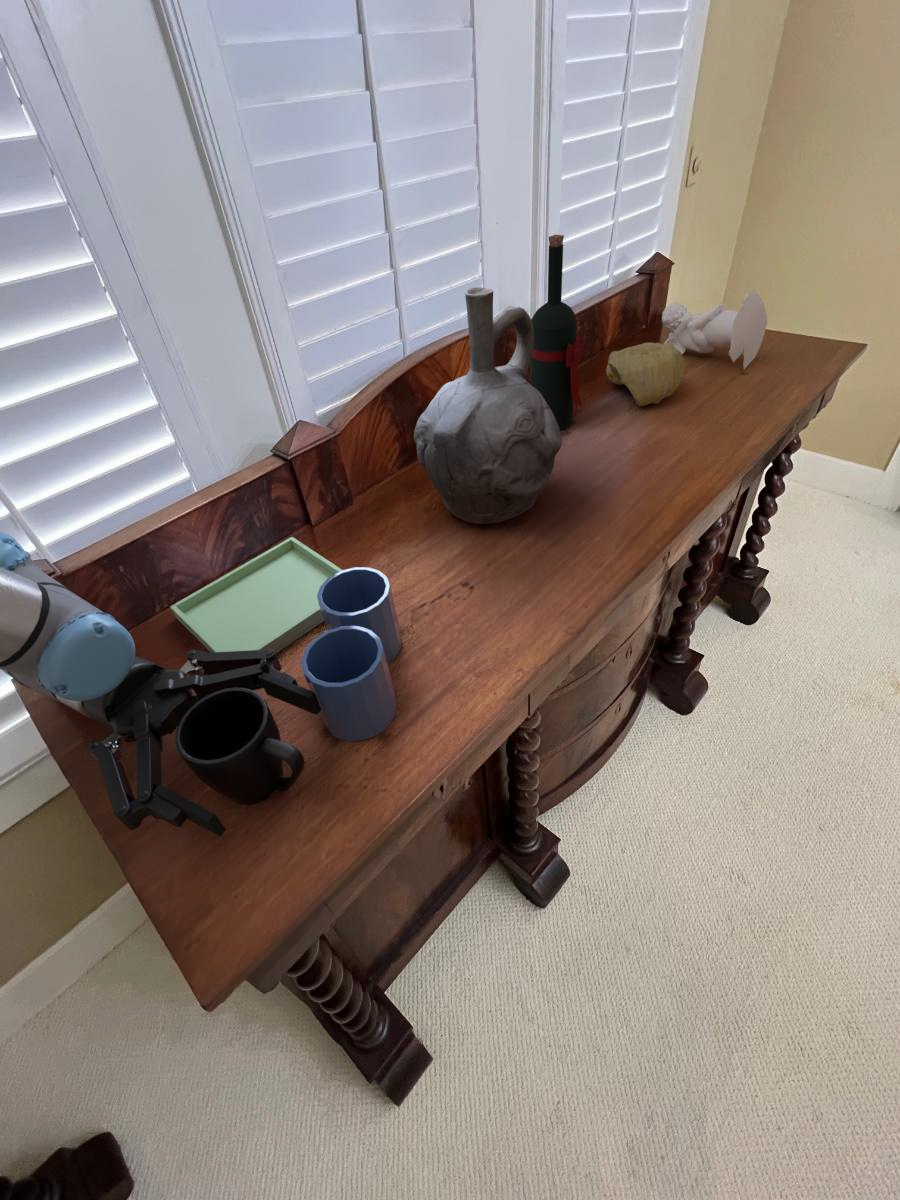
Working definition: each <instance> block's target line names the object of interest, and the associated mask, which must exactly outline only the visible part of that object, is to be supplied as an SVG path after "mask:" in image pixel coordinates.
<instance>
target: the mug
mask: <svg viewBox="0 0 900 1200" xmlns="http://www.w3.org/2000/svg"><path fill="white" fill-rule="evenodd" d="M174 744H175V747H176V751H177V752H178V754H179V755H180V757H181V758H182V759H183V761H184V762H185V763H186V764H187V766H188V767H189V768H190V770H191V771H192V772H193V774H194V775H195V776H196V777H197V778H198V779H199V780H200V781H201V782H202V783H203V784H205V785H206V786H207V787H209V788H210V789H212V790H214V791H215V792H216V793H218V794H220V795H221V796H223V797H225V798H228V799H229V800H231V801H233V802H235V803H236V804H239V805H247V806H249V805H255V804H258V803H261V802H263V801H265V800H267V799H269V797H270V796H272V795H274V793H275V792H279V793H285V792H287V791H288V790H290V789H291V787H293V786H294V784H295V783H296V781H297V780H298V778H299V777H300V776H301V774H302V772H303V770H304V769H305V762H306V761H305V757H304V756H303V754H302V752H301V751H300V749H298V748H297V747H295V746H294V745H293V744H290V743H288V742H285V741H282V740H281V733H280V730H279V727H278V724H277V722H276V720H275V718H274V716H273V714H272V712H271V710H270V707H269V706H268V703H267V702H266V699H264V697H263V696H262V695H261V694H260V693H258V692H256V691H255V690H250V689H246V688H228V689H223V690H220V691H217V692H214V693H212V694H210V695H208V696H206V697H204V698H203V699H201V700H200V701H198V702H197V703H196V704H194V705H193V706H192V707H191V708H190V709H189V710H188V711H187V712H186V714H185V715H184V716H183V717H182V719H181V721H180V723H179V725H178V726H177V728H176V731H175V743H174ZM284 762H285V763H286V764H287V765H288V766H289V767H290V770H291V775H290V776H284V769H283V768H284V767H283V766H284Z"/></svg>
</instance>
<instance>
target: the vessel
mask: <svg viewBox="0 0 900 1200" xmlns="http://www.w3.org/2000/svg"><path fill="white" fill-rule="evenodd" d="M464 297H465V305H466V306H465V307H466V313H467V314H466V317H467V318H466V319H467V326H468V327H467V328H468V337H469V353H470V365H469V369H468V371H467V374H465V375H462V376H460V377H458V378H456V379H454V380H452V381H448V382H446V383H445V384H443V385H442V386H441V387H440V389H439V390H438V391H437V393H436V394H435V396H434V397H433V399H431V401H430V403H429V404H428V406H427V407H426V409H425V410H424V411H423V412H422V414H420V416H419V417H418V419H417V422H416V425H415V428H414V432H413V441H414V443H415V445H416V454H417V459H418V462H419V465H420V467H421V468H422V469H423V470H424V472H425V473H426V475H427V477H428V479H429V481H430V483H431V484H432V485H433V487H434V489H435V490H436V491H437V492H438V494H439V495H440V498H441V501H442V503H443V505H444V507H445V509H446V510H447V511H448V512H449V513H450V514H452V516H454V517H455V518H457V519H459V520H462V521H464V522H467V523H471V524H475V525H476V524H477V525H489V524H498V523H501V522H505V521H509V520H510V519H513V518H515V517H518V516H521V515H522V514H524V513H526V512H527V511H528V510H530V509H531V508H532V507H534V505H535V503H536V501H537V498H538V496H539V494H540V493H541V492H542V491H543V490H544V489H545V488H546V487H547V485H548V484H549V482H550V478H551V475H552V472H553V469H554V467H555V458H556V456H557V454H558V453H559V451H560V449H561V447H562V445H563V444H562V443H563V439H562V438H563V437H562V432H561V431H560V429H559V426H558V424H557V421H556V419H555V417H554V415H553V413H552V411H551V409H550V407H549V406H548V404H547V403H546V401H545V399H544V398H543V396H542V395H541V393H540V392H539V391H538V390H537V389H535V388H534V387H533V386H532V385H530V383H529V381H527V376H528V372H529V368H530V366H531V358H532V353H533V348H534V329H533V324H532V321H531V320H532V318H531V315H529V313H528V311H526V309H525V308H523V307H520V306H513V305H511V306H510V305H509V306H507V307H504V308H503V309H501V310H499V311H498V312H497V313H496V314H495V315H494V290H493V289H492V288H487V287H481V286H474V287H471V288H468V289H467V290H466V291H465V292H464ZM512 327H514V330H515V333H516V344H515V345H516V346H515V350H514V352H513V354H512V357H510V360H509V361H508V363H507V364H505V365H499V366H495V359H494V358H495V357H494V351H495V345H496V344H497V342H498V341H499V339H500V338H501V336H502V335H503V334H504V333H505V332H506V331H507V330H509V329H510V328H512Z"/></svg>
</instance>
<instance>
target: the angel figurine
mask: <svg viewBox="0 0 900 1200" xmlns="http://www.w3.org/2000/svg"><path fill="white" fill-rule="evenodd" d="M725 309H726V303H721V304H719V303H718V305H717V306H715V307H714V308H712V309H710V310H708V311H707V312H706V313H705V312H704V313H703V314H702V313H695V314H692V313H691V312H689V311H688V307H687V306H684V305H683V304H681V303H679V302H677V301H674V302H671V303H670V304H668V305H667V306H666V307H664V309H663V311H662V314H661V322H662V324H663V325H664V328H667V329H669V330H670V331H672V332H670V333H669V334H668V338H667V339H666V340H665V341H664V343H663V344H668V343H670V344H672V345H673V346H674V347H675V348H676V349H678V350H679V351H680V352H681V354H682V355H684V353H685V352H686V351H687V350H690V351H694V352H697V353H700V354H710V353H712V352H713V351H714V350H715V348H716V349H721V350H723V349H725V350H726V349H729V348H730V349H729V351H728V357H730V359H731V361H732V364H734V363H735V362H736V361H737V359H738V358H739V357H740V356H741V355H743V361H742V369H743V370H745V369H746V368H747V367H748V366H749V365H750V364H751V362H752V361H753V360H755V358H756V357H757V355H758V352H759V350H760V348H761V346H762V343H763V340H764V336H765V332H766V329H767V325H768V313H767V310H766V307H765V303H764V302H763V299H762V297H761V296H760V294H759V293H756V289H752V290H751V291H750V292H749V293H748V292H747V293H746V294H745V296H744V298H743V301H742V305H741V306H740V309H739V310H738V311H736V310H734V309H726V310H725Z"/></svg>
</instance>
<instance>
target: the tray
mask: <svg viewBox="0 0 900 1200" xmlns="http://www.w3.org/2000/svg"><path fill="white" fill-rule="evenodd" d="M342 570H343V569H342V568H341V567H339V566H338V565H335V564H334V563H333V562H331V561H330V560H328V559H326V558H325V557H323V556H322V555H321V554H319V553H317V552H316V551H314V550H313V549H312V548H310V547H309V546H307V545H306V544H304V543H302V542H301V541H299V540H298V539H296V538H295V537H293V536H291V537H289V538H287V539H285V540H284V541H282V542H280V543H278V544H277V545H275V546H273V547H271V548H269V549H268V550H266V551H264V552H263V553H261V554H259V555H257V556H256V557H254V558H252V559H250V560H249V561H247V562H246V563H244V564H241V565H240V566H238V567H237V568H235V569H233V570H231V571H229V572H227V573H226V574H224V575H222V576H221V577H219V578H218V579H215V580H214V581H212V582H210V583H209V584H207V585H205V586H204V587H201V588H200V589H198V590H196V591H194V592H192V593H191V594H190V595H188V596H186V597H184V598H183V599H180V600H179V601H177V602H176V603H174V604H172V605H170V606H169V608H170V609H171V611H172V613H173V615H174V617H175V618H176V619H177V620H178V621H179V622H180V623H181V624H182V625H183V626H184V627H185V629H187V631H188V632H190V634H192V635H193V637H195V638H196V640H198V642H199V643H201V644H202V645H203V647H205V648H206V649H207V651H208V652H209V653H211V652H230V651H248V650H267V649H273V650H274V651H275V653H276V654H277V653H279V652H280V651H282V650H283V649H286V648H287V647H288V646H290V645H291V644H292V643H294V642H295V641H297V640H298V639H299V638H301V637H302V636H304V635H306V634H307V633H308V632H310V631H311V630H313V629H314V628H316V627H317V626H318V625H320V624H321V623H323V622H325V621H324V618H323V615H322V612H321V609H320V607H319V603H318V598H317V594H318V592H319V589H320V586H321V585H322V584H323V583H324V582H325V581H326V580H327V579H328V578H329V577H331V576H332V575H334V574H336V573H338V572H340V571H342Z"/></svg>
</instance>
